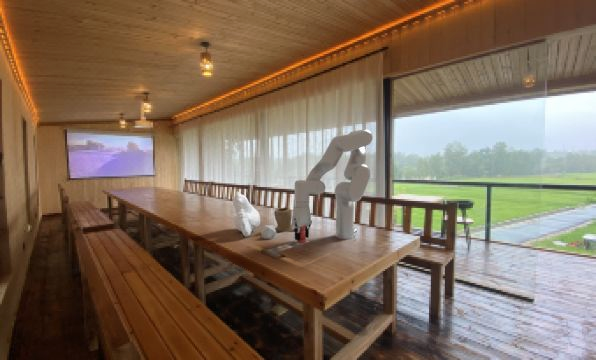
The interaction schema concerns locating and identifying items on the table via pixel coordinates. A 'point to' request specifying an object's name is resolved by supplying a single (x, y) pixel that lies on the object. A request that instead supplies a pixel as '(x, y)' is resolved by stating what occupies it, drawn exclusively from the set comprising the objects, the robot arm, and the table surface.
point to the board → (274, 251)
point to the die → (268, 232)
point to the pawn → (302, 235)
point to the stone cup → (283, 219)
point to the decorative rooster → (245, 215)
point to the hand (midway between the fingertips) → (301, 238)
